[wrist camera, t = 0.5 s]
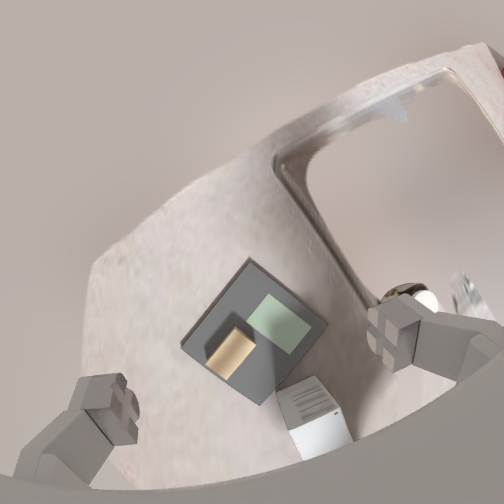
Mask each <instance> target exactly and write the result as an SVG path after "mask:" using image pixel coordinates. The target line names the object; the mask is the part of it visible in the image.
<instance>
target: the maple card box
mask: <svg viewBox="0 0 504 504" xmlns="http://www.w3.org/2000/svg"><path fill="white" fill-rule="evenodd" d="M255 346H256V342H255V341H254V340H252V339H251V338H250V337H248V336H247V335H246V334H245V333H243V332H242V331H241V330H239V329H238V328H237V327H234V328H233V330H232V331H231V332H230V333H229V334H228V336H227V337H226V338H225V339H224V340H223V342H222V343H221V344H220V345H219V346H218V348H217V349H216V350H215V351H214V352H213V354H212V355H211V356H210V357H209V358H208V360H207V361H206V364H205V365H206V366H208V367H209V368H210V369H212V370H213V371H214V372H216V373H217V374H219V375H220V376H221V377H223V378H224V379H225V380H227V379H228V378H229V377H230V375H231V374H232V373H233V372H234V371H235V370H236V369H237V367H238V366H239V365H240V364H241V363H242V362H243V360H244V359H245V358H246V357H247V356H248V355H249V353H250V352H251V351H252V350H253V349H254V347H255Z"/></svg>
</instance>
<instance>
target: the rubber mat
mask: <svg viewBox="0 0 504 504" xmlns="http://www.w3.org/2000/svg"><path fill="white" fill-rule="evenodd" d="M327 326H328V323H326V322H325V321H324V320H322V319H321V318H320V317H319V316H317V315H316V314H315V313H314V312H312V311H311V310H310V309H309V308H307V307H306V306H305V305H304V304H302V303H301V302H300V301H298V300H297V299H296V298H295V297H293V296H292V295H291V294H290V293H288V292H287V291H286V290H285V289H283V288H282V287H281V286H280V285H278V284H277V283H276V282H275V281H273V280H272V279H271V278H270V277H268V276H267V275H266V274H265V273H263V272H262V271H261V270H260V269H258V268H257V267H256V266H255V265H253V264H252V263H251V262H250V263H249V264H248V265H247V267H246V268H245V269H244V270H243V272H242V273H241V274H240V275H239V277H238V278H237V279H236V280H235V282H234V283H233V284H232V285H231V287H230V288H229V289H228V290H227V291H226V293H225V294H224V295H223V296H222V298H221V299H220V300H219V301H218V303H217V304H216V305H215V306H214V308H213V309H212V310H211V311H210V313H209V314H208V315H207V316H206V318H205V319H204V320H203V321H202V322H201V324H200V325H199V326H198V327H197V329H196V330H195V331H194V332H193V334H192V335H191V336H190V337H189V339H188V340H187V341H186V342H185V344H184V345H183V346H182V347H181V349H182V350H183V351H184V352H186V353H187V354H188V355H189V356H191V357H192V358H193V359H194V360H196V361H197V362H198V363H200V364H201V365H202V366H204V367H205V368H206V369H207V370H209V371H210V372H211V373H213V374H214V375H216V376H217V377H218V378H220V379H221V380H222V381H224V382H225V383H227V384H228V385H229V386H231V387H232V388H234V389H235V390H236V391H238V392H239V393H241V394H242V395H244V396H245V397H247V398H248V399H250V400H251V401H253V402H254V403H256V404H257V405H259V406H260V405H261V404H262V403H263V402H264V401H265V400H266V399H267V397H268V396H269V395H270V394H271V393H272V392H273V391H274V390H275V389H276V387H277V386H278V385H279V384H280V383H281V382H282V381H283V379H284V378H285V377H286V376H287V375H288V374H289V373H290V371H291V370H292V369H293V368H294V367H295V365H296V364H297V363H298V362H299V361H300V359H301V358H302V357H303V356H304V355H305V353H306V352H307V351H308V350H309V349H310V347H311V346H312V345H313V344H314V342H315V341H316V340H317V339H318V337H319V336H320V335H321V333H322V332H323V331H324V330H325V328H326V327H327ZM234 327H237V328H238V329H239V330H241V331H242V332H243V333H245V334H246V335H247V336H248V337H250V338H251V339H252V340H254V341H255V342H256V346H255V347H254V349H253V350H252V351H251V352H250V353H249V355H248V356H247V357H246V358H245V359H244V360H243V362H242V363H241V364H240V365H239V366H238V367H237V369H236V370H235V371H234V372H233V373H232V374H231V375H230V377H229V378H228V379H227V380H225V379H224V378H223V377H221V376H220V375H219V374H217V373H216V372H214V371H213V370H212V369H210V368H209V367H208V366H206V365H205V364H206V361H207V360H208V358H209V357H210V356H211V355H212V354H213V352H214V351H215V350H216V349H217V348H218V346H219V345H220V344H221V343H222V342H223V340H224V339H225V338H226V337H227V336H228V334H229V333H230V332H231V331H232V330H233V328H234Z"/></svg>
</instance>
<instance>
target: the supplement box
mask: <svg viewBox="0 0 504 504" xmlns="http://www.w3.org/2000/svg"><path fill="white" fill-rule="evenodd" d="M276 396H277V399H278V402H279V405H280V408H281V411H282V414H283V417H284V420H285V423H286V426H287V429H288V432H289V434H290V436H291V438H292V440H293V442H294V444H295V446H296V448H297V449H298V451H299V453H300V455H301V457H302V459H303V461H305V460H308V459H311V458H314V457H317V456H320V455H322V454H325V453H328V452H331V451H333V450H336V449H338V448H341V447H343V446H346V445H348V444H350V443H353V442H354V441H353V439H352V437H351V434H350V432H349V429H348V427H347V424H346V422H345V419H344V416H343V413H342V410H341V407H340V406H339V404H338V403H337V402H336V401H335V399H334V398H333V397H332V396H331V395H330V393H329V392H328V391H327V390H326V388H325V387H324V386H323V384H322V383H321V382H320V381H319V379H318V378H317V377H316V376H315V375H313V376H311V377H309V378H307V379H305V380H303V381H300V382H298V383H296V384H294V385H291V386H289V387H287V388H284V389H282V390H280V391H277V392H276Z"/></svg>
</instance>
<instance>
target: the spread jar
mask: <svg viewBox="0 0 504 504" xmlns="http://www.w3.org/2000/svg"><path fill="white" fill-rule="evenodd" d="M404 293H405V294H409V295H410V296H412V297H413V298H415V299H416V300H417V301H419V302H420V303H422V304H423V305H424V306H426V307H427V308H429V309H430V310H431V311H433V312H434V313H436V312H437V311H438V301H437V298H436V296H435V295H434V294H433V293H432V292H430V291H429V290H428V289H427V287H426V286H425V285H424V284H421V283H407V284H403V285H400V286H397V287H395V288H393V289H391V290H390V291H389V292H387V293H386V294H385V296H384V297H383V299H382V300H381V303H384V302H386V301H389V300H391V299H393V298H395V297H397V296H400V295H402V294H404Z"/></svg>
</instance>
